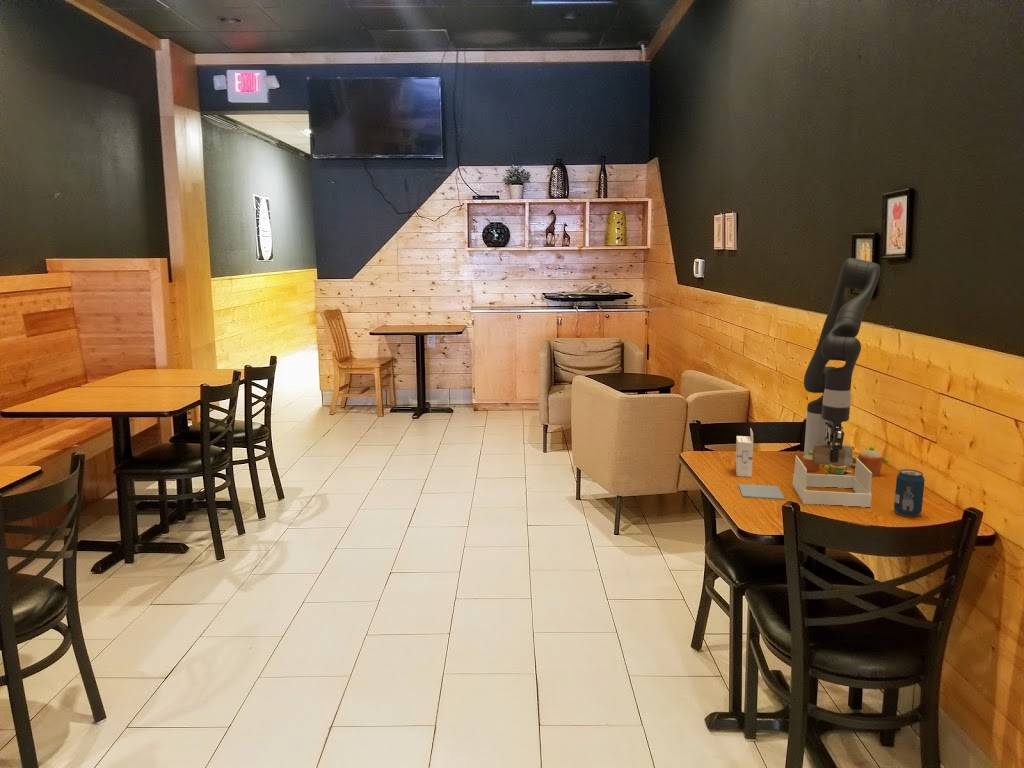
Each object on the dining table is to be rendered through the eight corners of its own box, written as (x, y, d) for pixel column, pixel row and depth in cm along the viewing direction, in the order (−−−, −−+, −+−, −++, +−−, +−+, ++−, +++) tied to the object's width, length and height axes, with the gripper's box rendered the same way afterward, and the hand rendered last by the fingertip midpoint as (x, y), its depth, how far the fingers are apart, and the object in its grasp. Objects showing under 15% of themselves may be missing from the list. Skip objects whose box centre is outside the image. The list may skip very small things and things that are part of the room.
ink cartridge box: (734, 469, 255) (736, 426, 252) (749, 469, 254) (751, 427, 251) (736, 476, 246) (738, 432, 244) (752, 477, 245) (754, 433, 243)
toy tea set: (864, 464, 262) (866, 437, 260) (892, 477, 246) (895, 448, 245) (794, 467, 258) (796, 439, 256) (818, 480, 243) (820, 451, 241)
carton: (792, 485, 237) (794, 454, 235) (854, 488, 234) (856, 457, 232) (804, 503, 219) (806, 470, 218) (870, 507, 216) (873, 474, 214)
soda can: (912, 508, 215) (916, 468, 213) (926, 517, 208) (930, 475, 206) (888, 509, 215) (892, 468, 213) (901, 517, 208) (905, 475, 206)
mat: (738, 485, 237) (738, 483, 237) (778, 487, 235) (778, 486, 235) (742, 497, 225) (742, 495, 225) (784, 499, 223) (784, 498, 223)
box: (812, 459, 228) (813, 443, 227) (847, 461, 226) (848, 445, 225) (815, 463, 224) (816, 447, 223) (851, 465, 222) (852, 449, 221)
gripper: (856, 409, 214) (851, 467, 217) (844, 399, 228) (839, 453, 231) (828, 408, 215) (823, 465, 218) (817, 398, 229) (813, 452, 232)
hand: (831, 459), depth 225 cm, fingers closed on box, 4 cm apart
